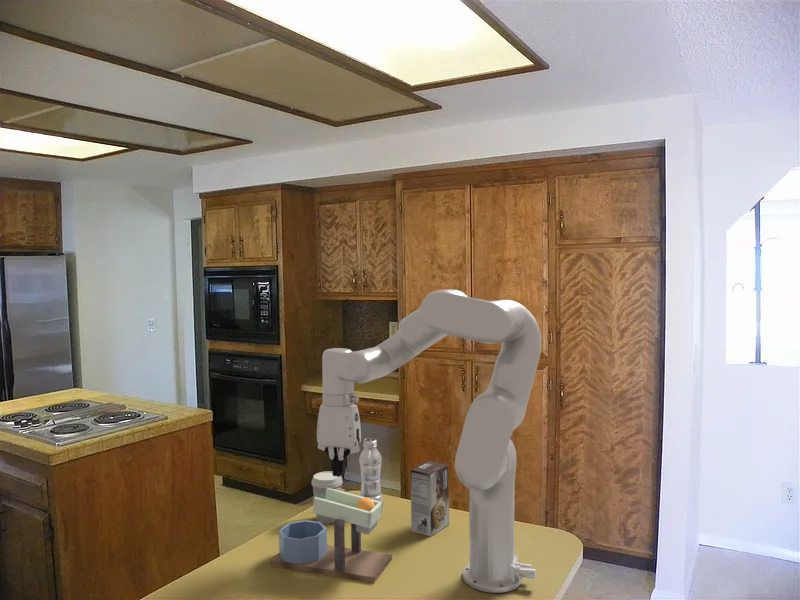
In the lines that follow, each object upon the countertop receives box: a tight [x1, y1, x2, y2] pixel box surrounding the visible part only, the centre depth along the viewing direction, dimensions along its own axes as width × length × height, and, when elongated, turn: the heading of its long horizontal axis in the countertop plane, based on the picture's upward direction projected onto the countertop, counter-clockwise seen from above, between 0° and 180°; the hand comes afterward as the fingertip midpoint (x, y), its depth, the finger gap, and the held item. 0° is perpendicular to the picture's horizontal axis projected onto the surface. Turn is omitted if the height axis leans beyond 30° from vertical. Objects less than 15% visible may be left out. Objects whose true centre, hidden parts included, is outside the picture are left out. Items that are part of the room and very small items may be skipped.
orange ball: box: [357, 497, 375, 512], centre depth 131 cm, size 4×4×4 cm
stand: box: [269, 519, 393, 584], centre depth 134 cm, size 26×11×12 cm, turn 71°
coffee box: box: [410, 460, 450, 537], centre depth 153 cm, size 9×6×16 cm
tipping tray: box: [312, 488, 384, 536], centre depth 136 cm, size 14×13×5 cm
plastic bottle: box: [358, 437, 384, 503], centre depth 165 cm, size 6×7×20 cm
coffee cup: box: [311, 470, 344, 525], centre depth 159 cm, size 8×8×12 cm
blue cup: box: [278, 519, 328, 564], centre depth 137 cm, size 10×10×6 cm
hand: (338, 474), depth 143 cm, fingers closed
